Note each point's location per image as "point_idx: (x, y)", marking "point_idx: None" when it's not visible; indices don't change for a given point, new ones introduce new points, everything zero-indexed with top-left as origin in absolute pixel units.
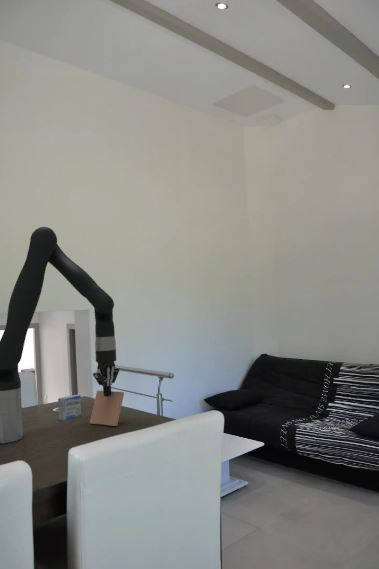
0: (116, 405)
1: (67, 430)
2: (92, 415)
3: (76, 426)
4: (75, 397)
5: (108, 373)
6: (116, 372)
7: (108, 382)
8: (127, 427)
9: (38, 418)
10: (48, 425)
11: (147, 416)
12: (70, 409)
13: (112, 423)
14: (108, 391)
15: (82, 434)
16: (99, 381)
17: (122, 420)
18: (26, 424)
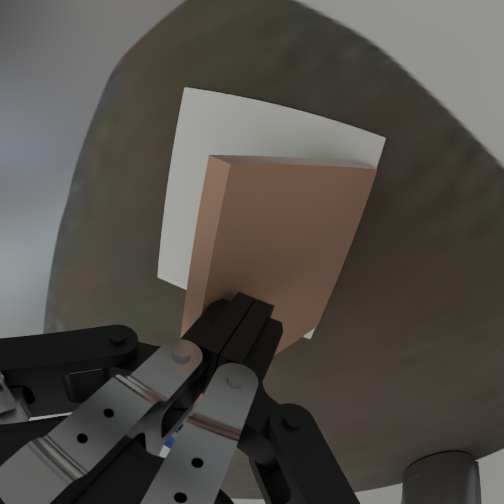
0: (309, 199)
1: (378, 379)
2: (298, 335)
3: (319, 365)
4: (166, 441)
5: (172, 502)
6: (6, 367)
7: (217, 393)
8: (342, 109)
9: None
10: None
11: (131, 97)
12: None
13: (365, 193)
14: (260, 327)
15: (454, 304)
16: (285, 481)
17: None
18: None
